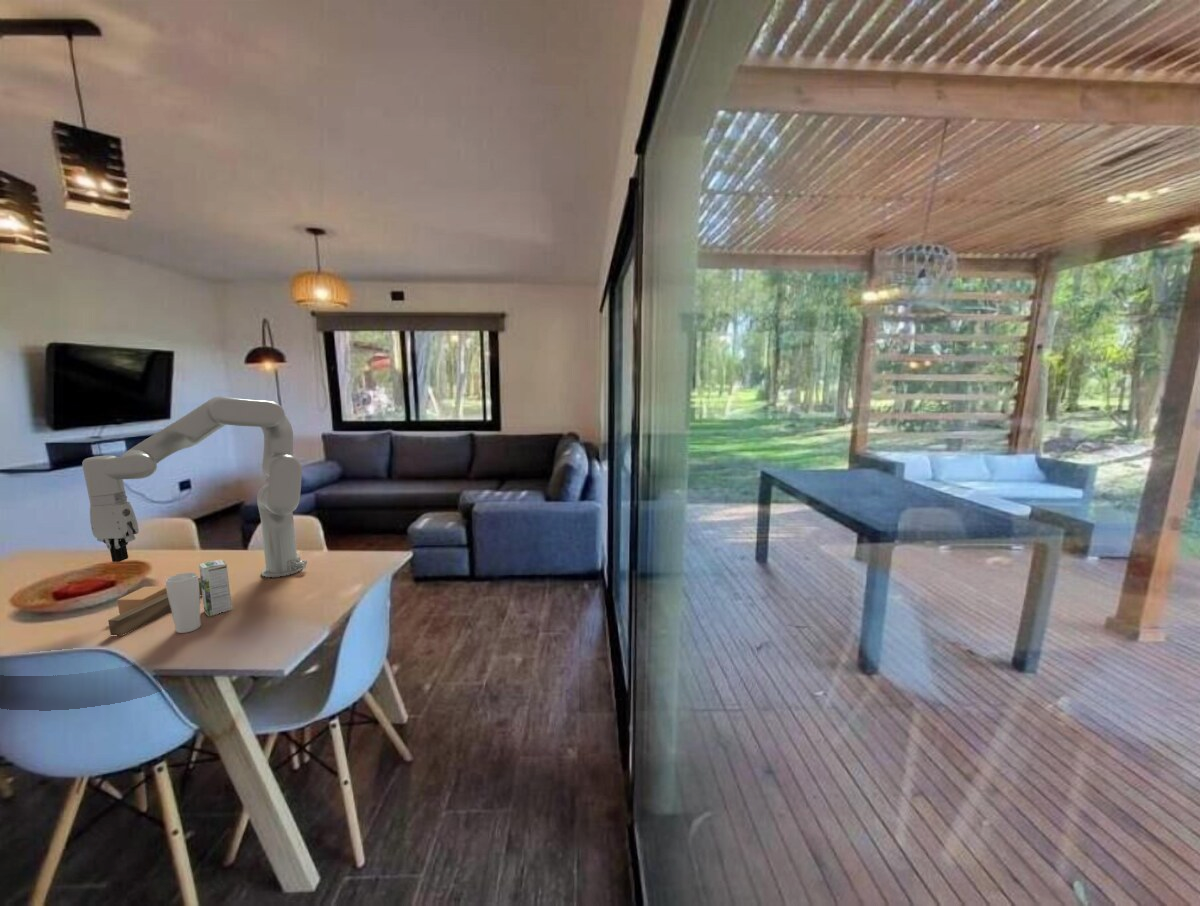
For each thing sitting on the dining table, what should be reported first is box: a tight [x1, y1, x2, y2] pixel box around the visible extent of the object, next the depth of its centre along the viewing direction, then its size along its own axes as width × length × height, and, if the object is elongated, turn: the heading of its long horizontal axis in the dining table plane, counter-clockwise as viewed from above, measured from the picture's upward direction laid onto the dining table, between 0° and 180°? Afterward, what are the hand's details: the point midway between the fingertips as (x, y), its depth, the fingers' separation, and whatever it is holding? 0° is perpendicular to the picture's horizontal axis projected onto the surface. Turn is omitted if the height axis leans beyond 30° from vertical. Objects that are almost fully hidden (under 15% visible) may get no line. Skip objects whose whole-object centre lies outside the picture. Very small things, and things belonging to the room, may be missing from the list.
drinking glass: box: [165, 572, 202, 634], centre depth 137 cm, size 7×7×15 cm
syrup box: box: [198, 559, 232, 617], centre depth 148 cm, size 6×6×14 cm
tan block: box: [116, 585, 167, 615], centre depth 148 cm, size 7×9×6 cm
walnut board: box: [107, 577, 202, 637], centre depth 148 cm, size 3×28×4 cm, turn 175°
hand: (120, 560), depth 148 cm, fingers closed
